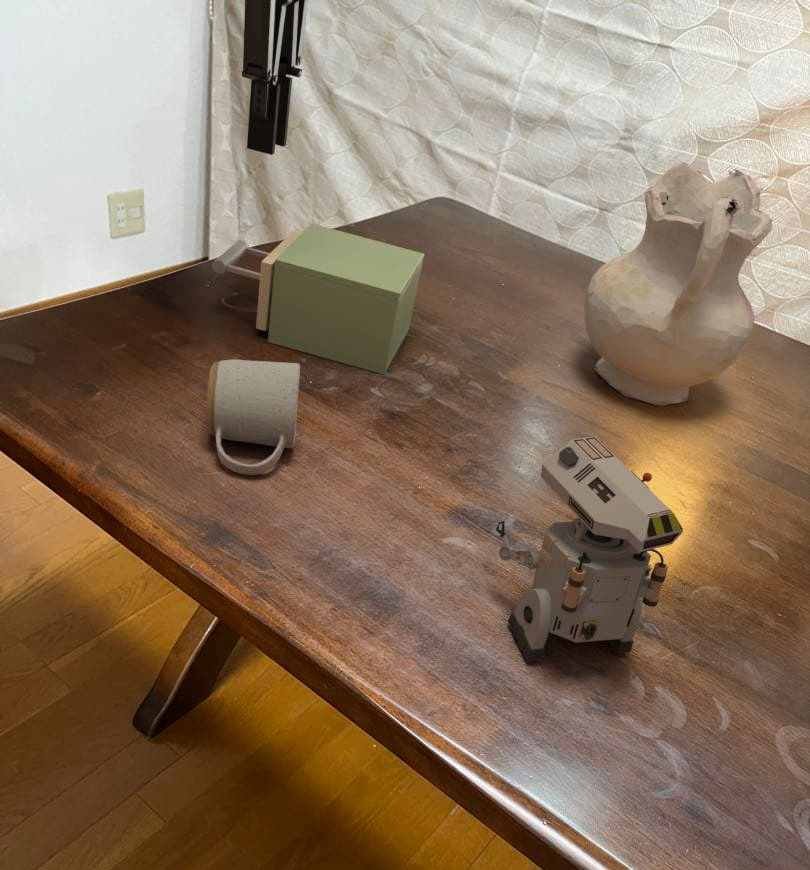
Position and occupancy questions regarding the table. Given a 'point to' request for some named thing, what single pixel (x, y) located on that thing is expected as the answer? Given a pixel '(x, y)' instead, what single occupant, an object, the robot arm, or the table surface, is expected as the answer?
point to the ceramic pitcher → (678, 288)
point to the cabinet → (344, 297)
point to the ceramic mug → (253, 408)
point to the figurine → (592, 553)
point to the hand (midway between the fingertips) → (266, 146)
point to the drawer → (265, 276)
